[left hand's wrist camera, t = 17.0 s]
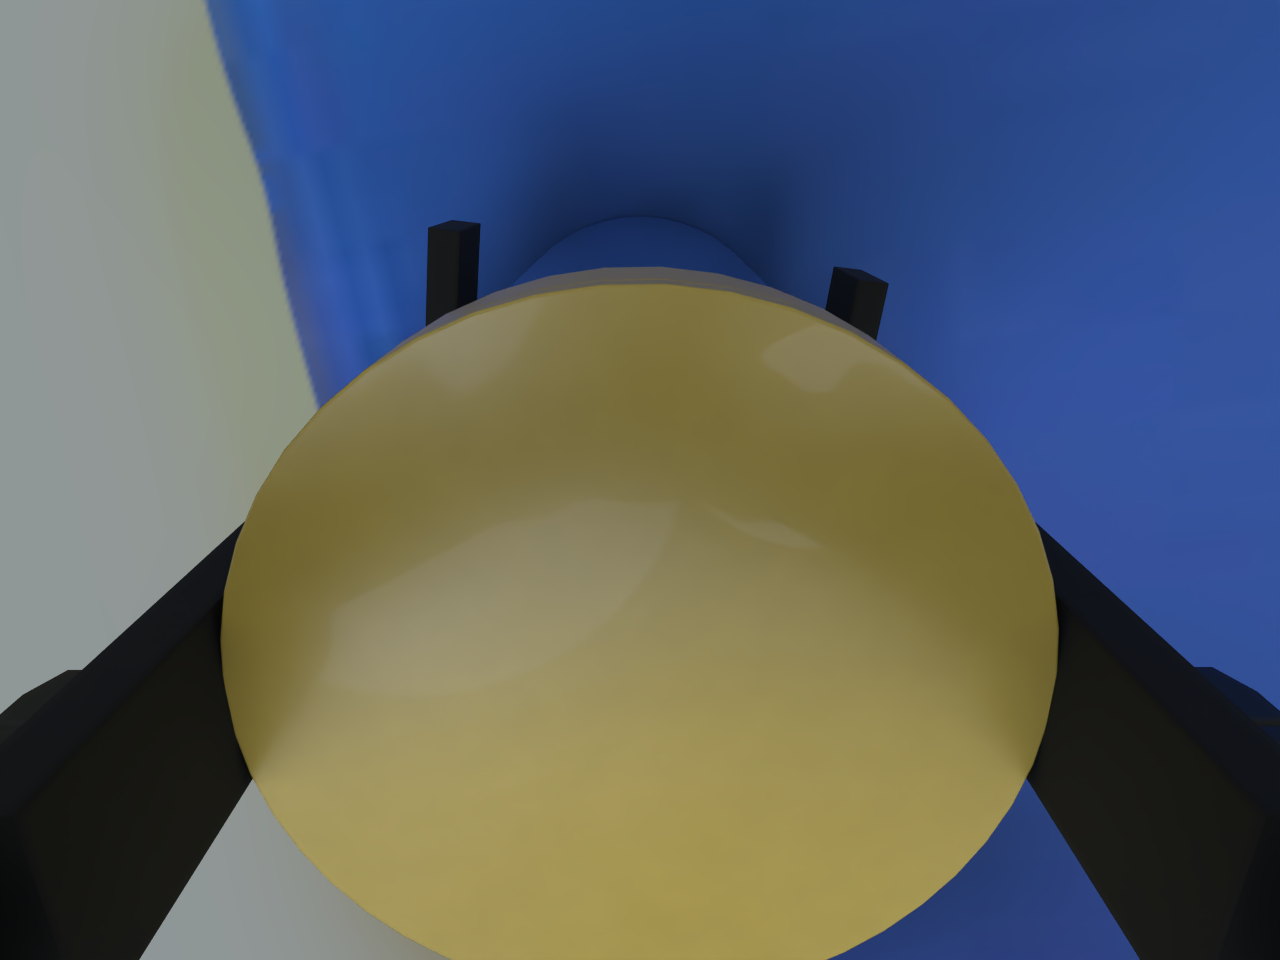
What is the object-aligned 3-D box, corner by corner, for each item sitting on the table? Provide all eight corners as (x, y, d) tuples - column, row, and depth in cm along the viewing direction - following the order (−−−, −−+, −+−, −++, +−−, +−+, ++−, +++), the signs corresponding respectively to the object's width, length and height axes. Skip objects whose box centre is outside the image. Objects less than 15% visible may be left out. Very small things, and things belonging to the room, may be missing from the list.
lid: (223, 822, 13) (172, 905, 12) (347, 145, 10) (294, 141, 8) (835, 969, 14) (857, 1061, 13) (1148, 412, 11) (1228, 452, 9)
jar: (476, 235, 27) (182, 368, 10) (770, 198, 27) (1016, 269, 9) (525, 504, 31) (372, 962, 13) (786, 476, 30) (988, 909, 13)
